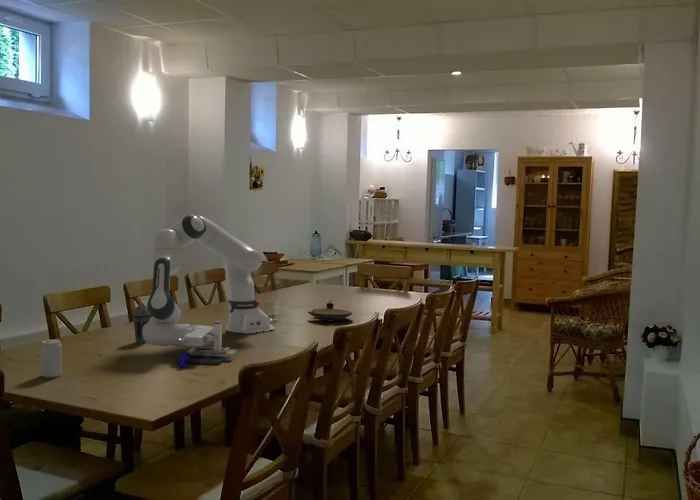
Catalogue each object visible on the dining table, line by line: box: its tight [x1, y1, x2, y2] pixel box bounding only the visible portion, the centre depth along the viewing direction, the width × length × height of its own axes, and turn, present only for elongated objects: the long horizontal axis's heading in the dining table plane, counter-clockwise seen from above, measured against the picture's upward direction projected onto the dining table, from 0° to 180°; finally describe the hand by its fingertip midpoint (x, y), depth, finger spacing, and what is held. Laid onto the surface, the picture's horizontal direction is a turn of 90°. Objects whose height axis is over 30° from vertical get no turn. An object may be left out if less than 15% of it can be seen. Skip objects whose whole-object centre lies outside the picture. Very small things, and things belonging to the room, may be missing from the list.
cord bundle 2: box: [189, 359, 223, 365], centre depth 243 cm, size 12×3×1 cm, turn 87°
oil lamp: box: [307, 299, 353, 321], centre depth 337 cm, size 22×30×8 cm
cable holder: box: [177, 351, 190, 369], centre depth 240 cm, size 8×4×4 cm, turn 3°
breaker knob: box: [213, 320, 223, 351], centre depth 253 cm, size 2×3×12 cm
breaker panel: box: [186, 346, 239, 362], centre depth 253 cm, size 18×12×4 cm, turn 87°
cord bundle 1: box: [203, 345, 232, 349], centre depth 263 cm, size 12×3×1 cm, turn 87°
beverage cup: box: [132, 295, 152, 344], centre depth 273 cm, size 7×7×20 cm
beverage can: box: [40, 339, 63, 379], centre depth 221 cm, size 6×6×12 cm
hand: (219, 336), depth 252 cm, fingers closed on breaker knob, 3 cm apart
